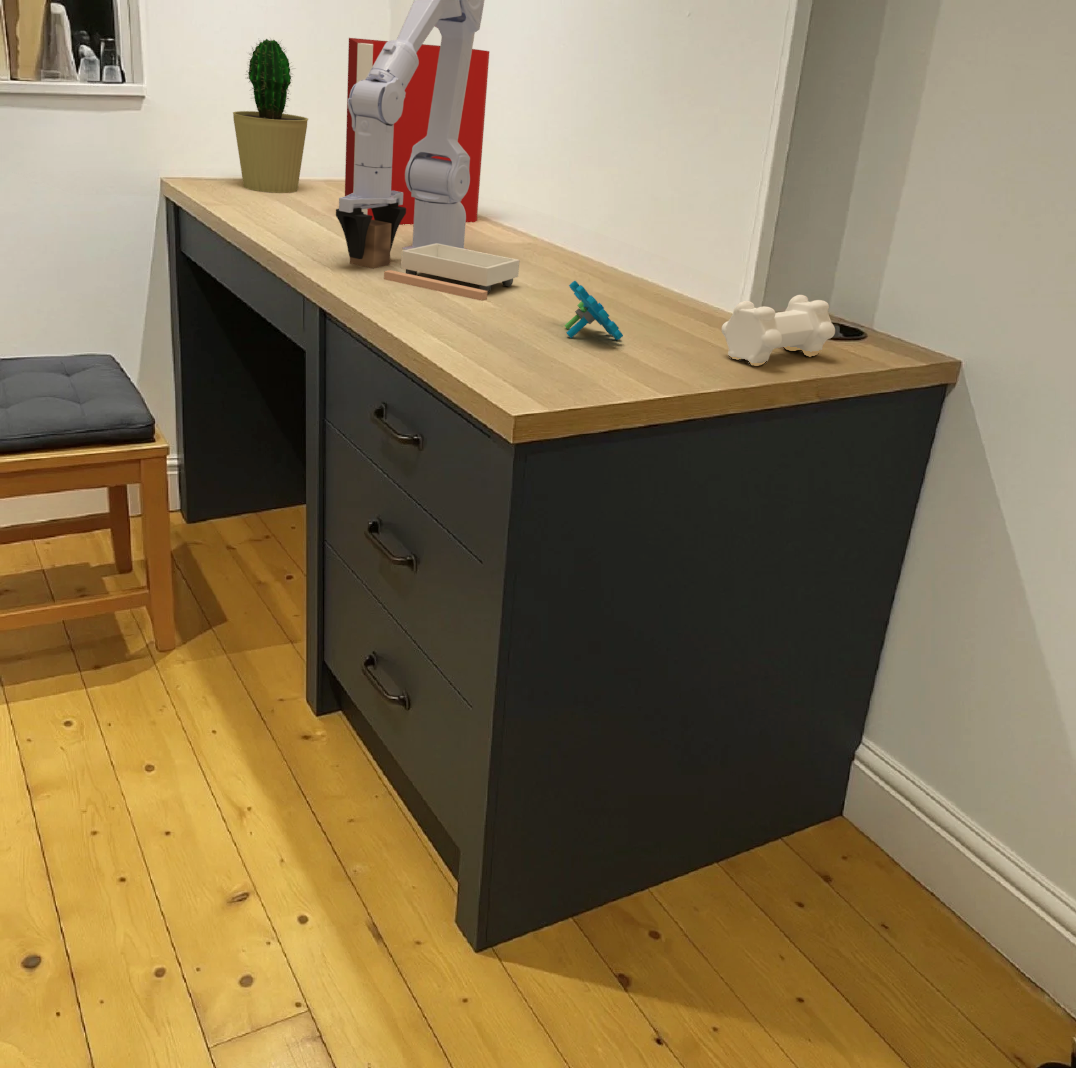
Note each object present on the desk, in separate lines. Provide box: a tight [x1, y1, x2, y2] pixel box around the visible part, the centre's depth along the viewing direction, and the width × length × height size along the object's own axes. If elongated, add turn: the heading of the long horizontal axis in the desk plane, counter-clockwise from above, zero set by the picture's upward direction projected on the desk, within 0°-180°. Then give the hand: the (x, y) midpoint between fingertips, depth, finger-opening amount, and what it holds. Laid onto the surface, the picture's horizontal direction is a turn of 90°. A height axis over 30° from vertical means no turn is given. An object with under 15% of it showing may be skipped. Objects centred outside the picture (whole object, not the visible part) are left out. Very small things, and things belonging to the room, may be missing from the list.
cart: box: [400, 243, 521, 295], centre depth 170 cm, size 10×15×4 cm, turn 63°
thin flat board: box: [383, 269, 488, 301], centre depth 173 cm, size 23×17×2 cm
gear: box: [564, 280, 624, 341], centre depth 148 cm, size 11×6×10 cm
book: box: [344, 37, 490, 226], centre depth 213 cm, size 27×8×32 cm, turn 131°
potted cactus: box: [232, 37, 309, 194], centre depth 231 cm, size 15×15×30 cm
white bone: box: [721, 294, 836, 363], centre depth 148 cm, size 15×9×8 cm, turn 131°
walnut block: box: [349, 219, 391, 270], centre depth 174 cm, size 4×4×7 cm
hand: (370, 254), depth 175 cm, fingers open, 7 cm apart
